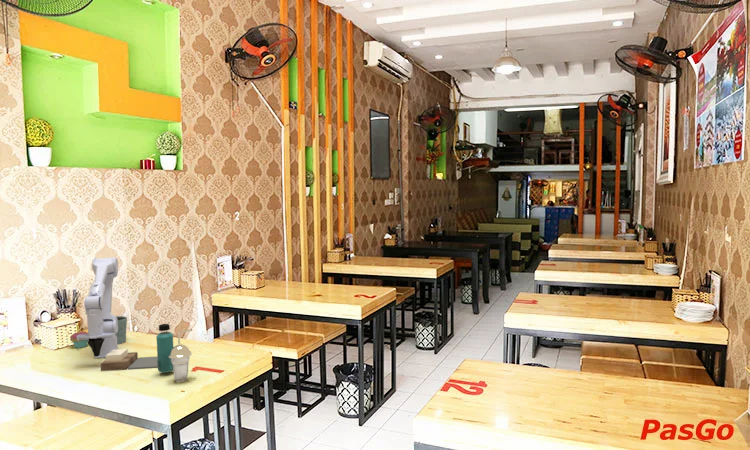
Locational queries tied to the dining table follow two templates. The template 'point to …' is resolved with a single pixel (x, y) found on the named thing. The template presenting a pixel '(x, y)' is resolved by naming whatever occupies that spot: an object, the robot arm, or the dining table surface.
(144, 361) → the mat
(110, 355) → the tile
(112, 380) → the dining table surface
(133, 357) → the board
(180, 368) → the cup with straw
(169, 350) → the beverage bottle
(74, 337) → the cupcake
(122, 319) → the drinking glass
